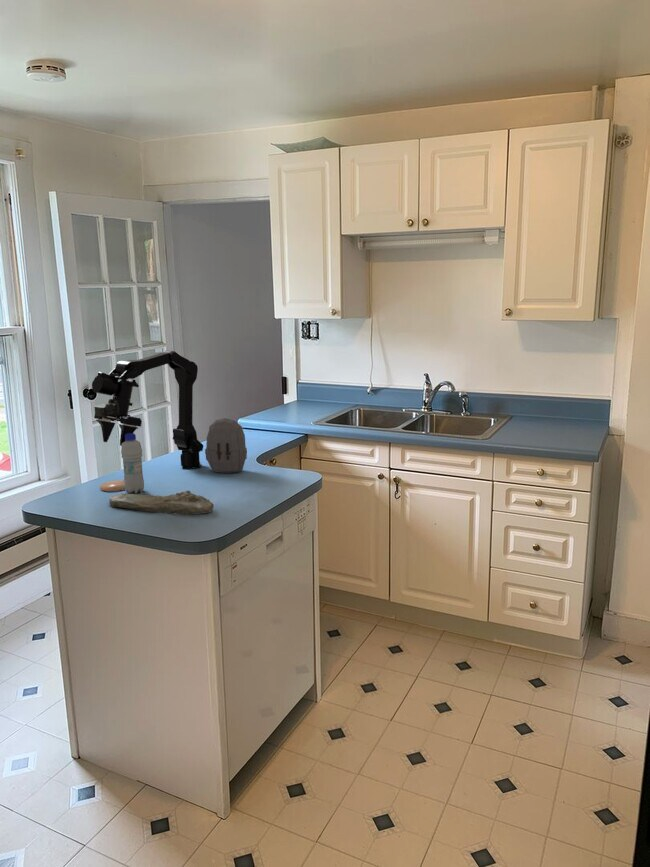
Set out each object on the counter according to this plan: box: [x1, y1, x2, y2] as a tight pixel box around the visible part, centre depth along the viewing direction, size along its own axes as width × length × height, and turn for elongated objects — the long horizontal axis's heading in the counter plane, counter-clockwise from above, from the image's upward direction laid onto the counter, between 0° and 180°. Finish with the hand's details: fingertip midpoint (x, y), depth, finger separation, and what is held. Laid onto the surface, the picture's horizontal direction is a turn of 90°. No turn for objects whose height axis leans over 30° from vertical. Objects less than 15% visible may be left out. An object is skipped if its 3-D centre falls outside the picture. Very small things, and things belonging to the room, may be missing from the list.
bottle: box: [120, 432, 145, 494], centre depth 221 cm, size 7×7×20 cm
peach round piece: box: [99, 479, 125, 492], centre depth 228 cm, size 10×10×1 cm
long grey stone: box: [109, 490, 215, 515], centre depth 207 cm, size 35×5×10 cm
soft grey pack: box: [204, 417, 248, 474], centre depth 242 cm, size 15×8×20 cm, turn 84°
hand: (113, 443), depth 225 cm, fingers open, 9 cm apart
